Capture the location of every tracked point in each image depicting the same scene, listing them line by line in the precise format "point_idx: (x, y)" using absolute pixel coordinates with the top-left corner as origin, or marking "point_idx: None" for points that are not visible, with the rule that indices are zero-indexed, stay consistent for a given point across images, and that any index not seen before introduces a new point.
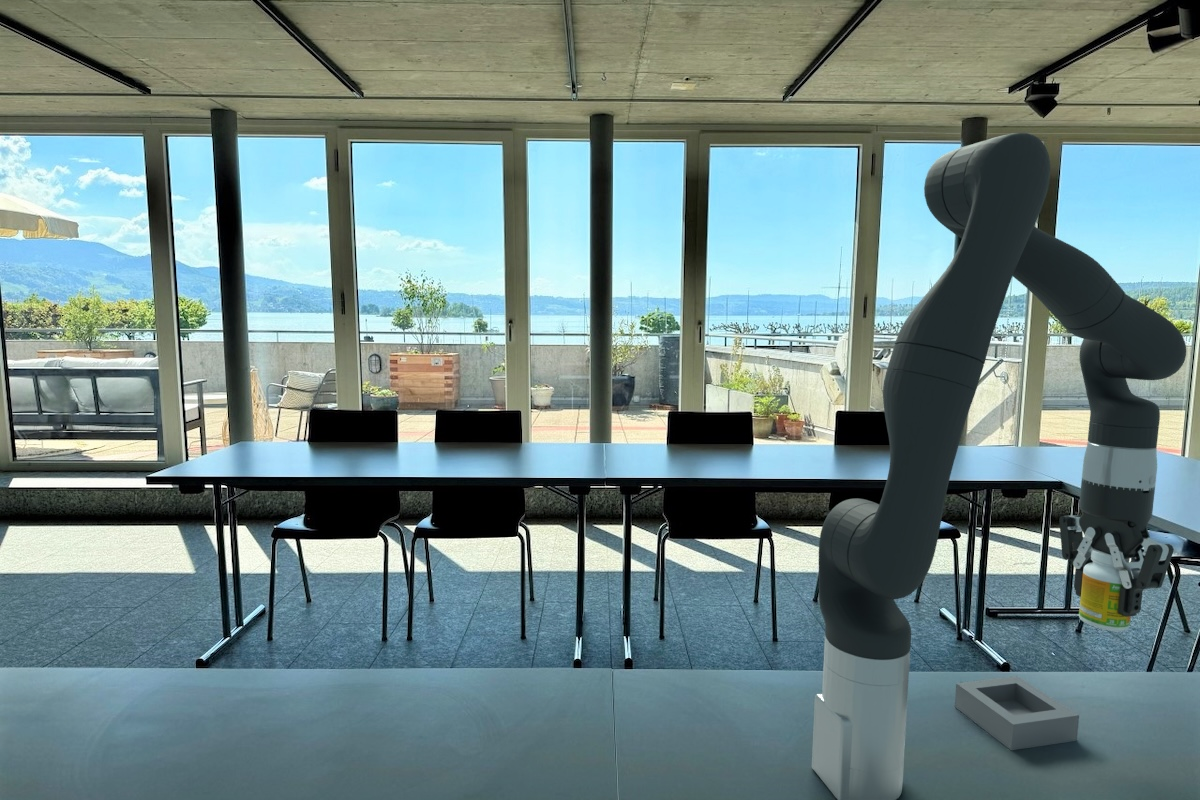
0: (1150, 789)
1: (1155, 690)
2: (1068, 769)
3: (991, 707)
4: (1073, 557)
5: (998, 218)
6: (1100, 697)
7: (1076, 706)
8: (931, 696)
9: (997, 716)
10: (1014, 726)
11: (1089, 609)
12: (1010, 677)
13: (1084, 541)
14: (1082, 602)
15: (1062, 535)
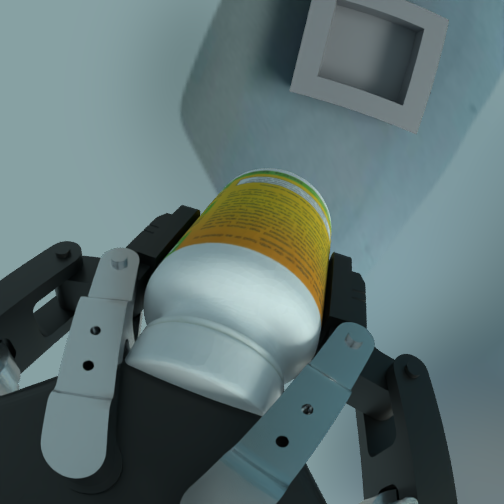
0: (192, 71)
1: None
2: (258, 14)
3: None
4: (381, 373)
5: None
6: (340, 238)
7: (346, 184)
8: (469, 28)
9: None
10: None
11: (273, 185)
12: (418, 118)
13: (297, 445)
14: (303, 204)
15: (440, 456)
